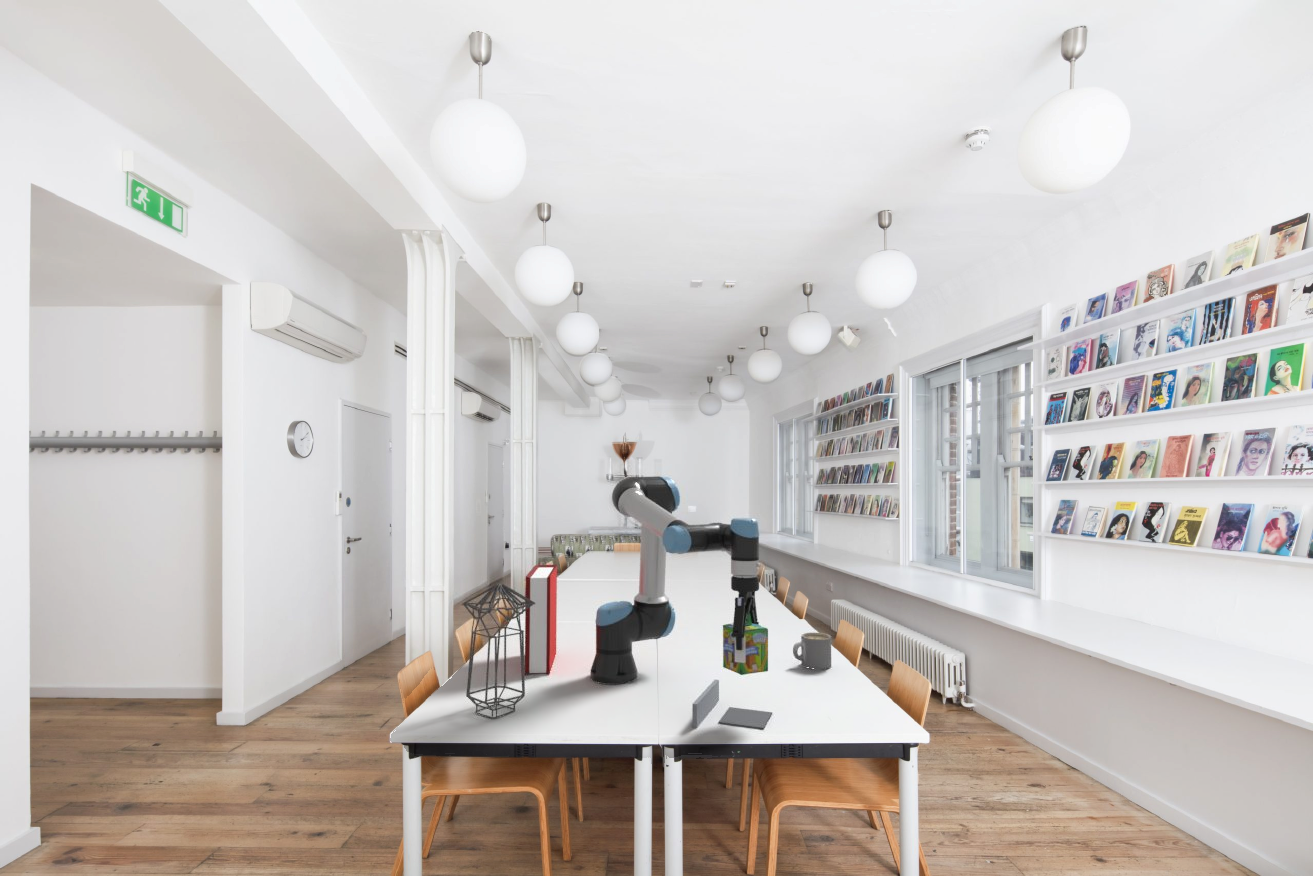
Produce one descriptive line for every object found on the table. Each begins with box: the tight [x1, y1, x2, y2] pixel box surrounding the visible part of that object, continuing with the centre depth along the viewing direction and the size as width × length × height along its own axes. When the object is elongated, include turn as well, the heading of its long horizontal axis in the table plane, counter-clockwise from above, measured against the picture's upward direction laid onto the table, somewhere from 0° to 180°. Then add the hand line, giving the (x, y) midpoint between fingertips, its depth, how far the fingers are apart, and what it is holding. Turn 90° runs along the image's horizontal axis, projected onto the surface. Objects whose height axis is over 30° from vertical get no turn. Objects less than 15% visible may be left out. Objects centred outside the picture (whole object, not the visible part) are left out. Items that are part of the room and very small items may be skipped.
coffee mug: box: [792, 632, 832, 670], centre depth 231 cm, size 13×10×10 cm
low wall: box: [691, 679, 720, 729], centre depth 185 cm, size 1×22×6 cm, turn 160°
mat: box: [717, 706, 773, 730], centre depth 181 cm, size 12×12×1 cm
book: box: [524, 564, 558, 676], centre depth 234 cm, size 27×8×32 cm, turn 4°
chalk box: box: [722, 613, 769, 676], centre depth 182 cm, size 9×9×15 cm
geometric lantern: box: [461, 583, 535, 720], centre depth 188 cm, size 16×16×35 cm
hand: (745, 655), depth 182 cm, fingers closed on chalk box, 12 cm apart
